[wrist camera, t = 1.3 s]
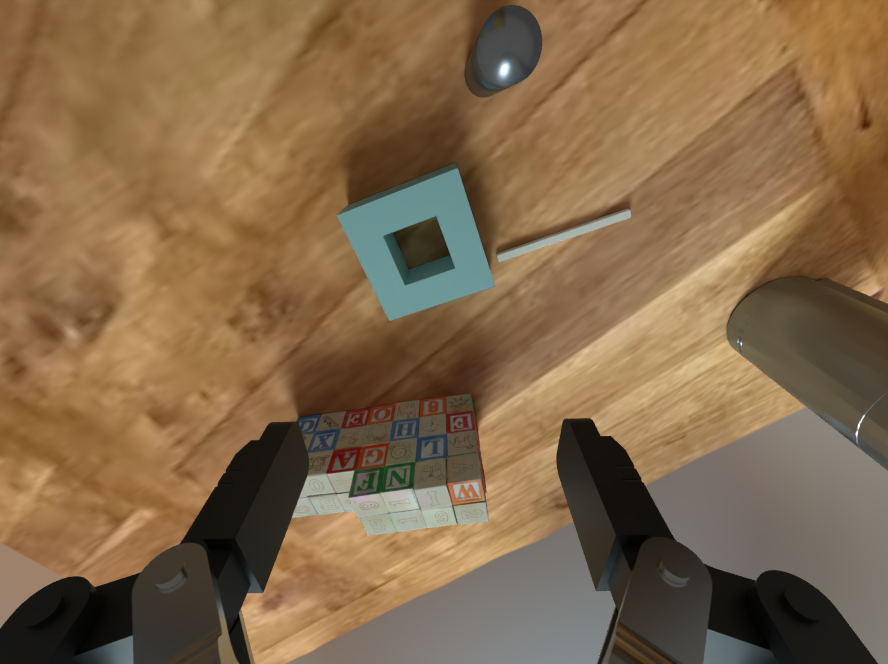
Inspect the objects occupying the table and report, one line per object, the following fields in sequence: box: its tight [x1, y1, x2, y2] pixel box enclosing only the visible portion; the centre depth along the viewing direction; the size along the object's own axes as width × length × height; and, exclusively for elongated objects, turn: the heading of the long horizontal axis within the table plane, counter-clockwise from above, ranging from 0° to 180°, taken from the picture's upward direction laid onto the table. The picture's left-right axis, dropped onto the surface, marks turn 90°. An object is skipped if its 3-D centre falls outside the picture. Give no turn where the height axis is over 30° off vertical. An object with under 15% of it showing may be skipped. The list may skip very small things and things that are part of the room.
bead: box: [337, 163, 495, 321], centre depth 32 cm, size 10×10×4 cm
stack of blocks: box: [292, 394, 489, 535], centre depth 40 cm, size 21×6×12 cm, turn 100°
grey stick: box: [496, 208, 631, 262], centre depth 34 cm, size 12×1×1 cm, turn 110°
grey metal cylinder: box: [465, 5, 542, 97], centre depth 23 cm, size 3×3×12 cm
